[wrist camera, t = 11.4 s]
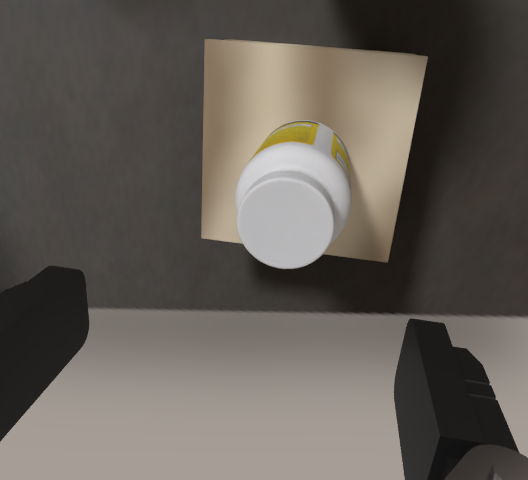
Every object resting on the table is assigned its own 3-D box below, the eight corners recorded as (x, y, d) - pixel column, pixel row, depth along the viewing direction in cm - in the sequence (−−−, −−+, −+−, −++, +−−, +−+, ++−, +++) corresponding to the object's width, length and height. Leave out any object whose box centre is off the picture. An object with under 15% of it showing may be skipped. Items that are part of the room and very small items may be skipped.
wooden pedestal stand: (223, 208, 36) (201, 238, 31) (229, 39, 31) (204, 39, 26) (381, 227, 35) (387, 262, 29) (413, 53, 30) (427, 56, 24)
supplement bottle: (242, 178, 29) (196, 240, 20) (289, 100, 26) (261, 129, 17) (316, 225, 29) (304, 306, 20) (369, 152, 27) (381, 206, 18)
